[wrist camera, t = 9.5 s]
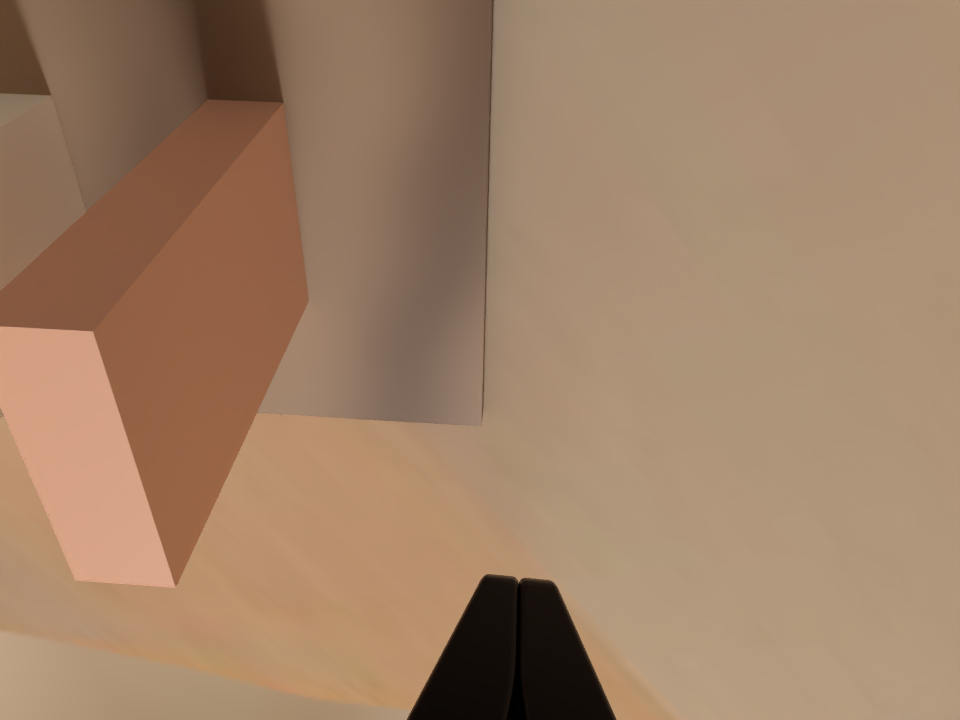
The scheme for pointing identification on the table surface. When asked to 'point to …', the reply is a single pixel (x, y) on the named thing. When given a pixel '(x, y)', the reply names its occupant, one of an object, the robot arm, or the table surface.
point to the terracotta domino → (155, 341)
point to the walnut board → (311, 166)
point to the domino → (33, 182)
